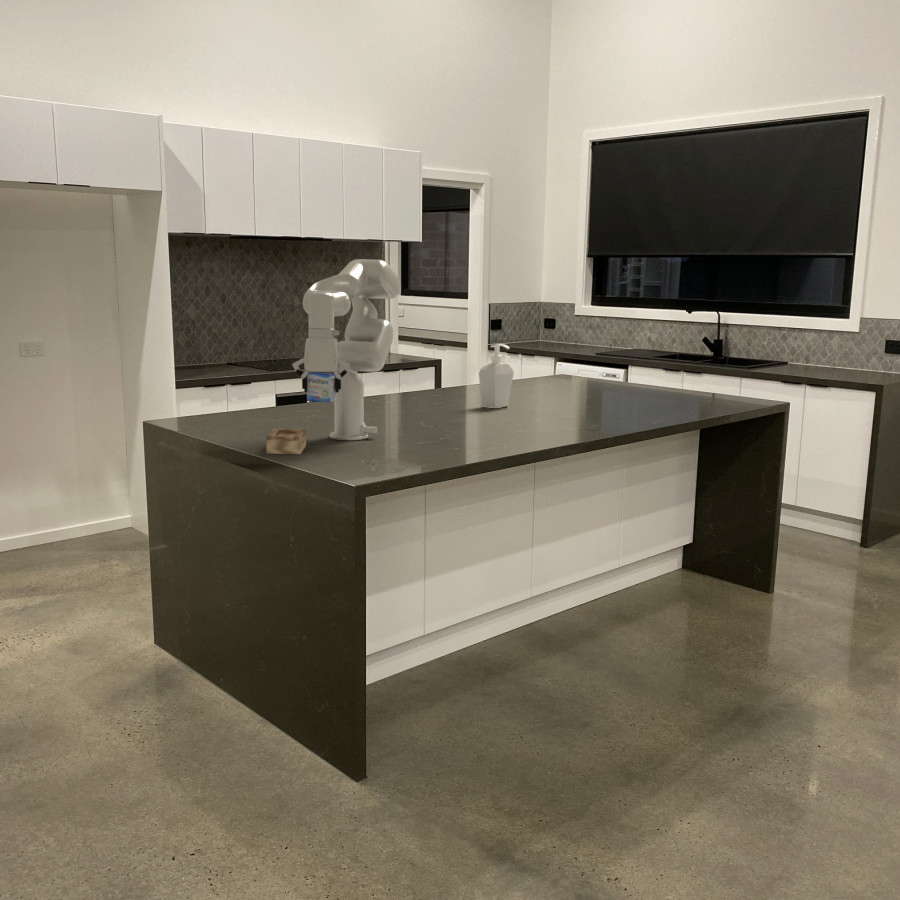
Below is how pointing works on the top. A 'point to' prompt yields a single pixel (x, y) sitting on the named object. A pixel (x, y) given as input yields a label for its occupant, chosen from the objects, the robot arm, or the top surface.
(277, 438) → the block
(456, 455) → the top surface
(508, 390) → the soap bottle
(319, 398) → the medicine box
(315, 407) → the top surface
